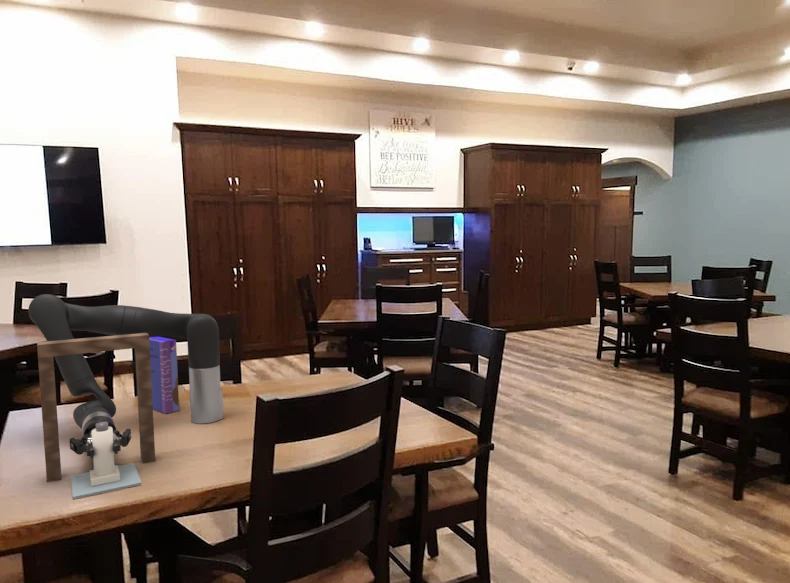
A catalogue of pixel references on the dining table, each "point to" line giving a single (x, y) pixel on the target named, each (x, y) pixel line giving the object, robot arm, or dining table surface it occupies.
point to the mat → (84, 488)
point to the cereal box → (164, 375)
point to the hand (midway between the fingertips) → (104, 451)
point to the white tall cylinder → (103, 456)
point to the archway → (88, 346)
